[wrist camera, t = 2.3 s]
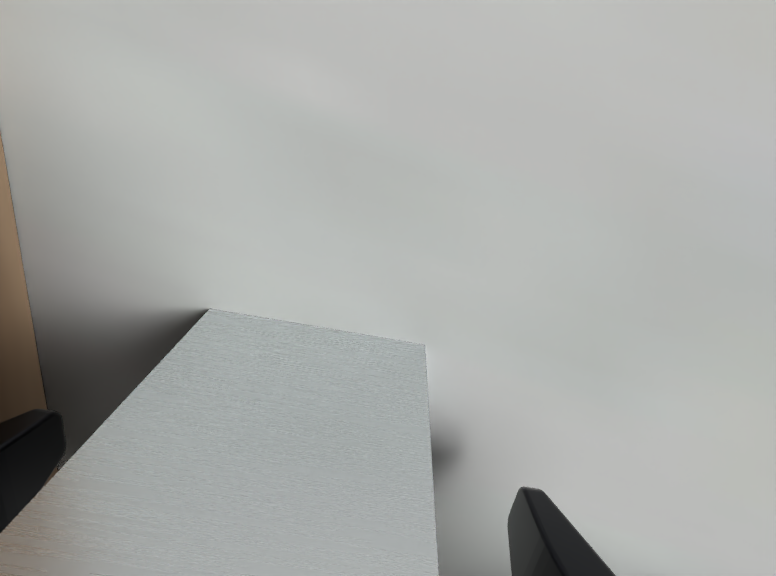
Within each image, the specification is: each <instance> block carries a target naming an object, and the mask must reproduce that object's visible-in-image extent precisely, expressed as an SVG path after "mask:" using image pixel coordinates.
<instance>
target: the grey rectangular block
mask: <svg viewBox="0 0 776 576" xmlns="http://www.w3.org/2000/svg"><path fill="white" fill-rule="evenodd" d="M0 576H439V570H438V554H437V537H436V520H435V503H434V487H433V470H432V453H431V436H430V420H429V403H428V386H427V369H426V353H425V345H423V344H417V343H411V342H405V341H399V340H393V339H388V338H382V337H376V336H370V335H364V334H358V333H352V332H346V331H340V330H334V329H328V328H322V327H316V326H310V325H304V324H299V323H293V322H287V321H281V320H275V319H269V318H263V317H257V316H251V315H245V314H239V313H233V312H227V311H221V310H216V309H209V310H208V311H207V312H206V313H205V314H204V315H203V317H202V318H201V319H200V320H199V321H198V322H197V323H196V324H195V325H194V326H193V327H192V328H191V329H190V330H189V332H188V333H187V334H186V335H185V336H184V337H183V338H182V339H181V340H180V341H179V342H178V343H177V344H176V345H175V347H174V348H173V349H172V350H171V351H170V352H169V353H168V354H167V355H166V356H165V357H164V358H163V359H162V361H161V362H160V363H159V364H158V365H157V366H156V367H155V368H154V369H153V370H152V371H151V372H150V373H149V374H148V376H147V377H146V378H145V379H144V380H143V381H142V382H141V383H140V384H139V385H138V386H137V387H136V388H135V389H134V391H133V392H132V393H131V394H130V395H129V396H128V397H127V398H126V399H125V400H124V401H123V402H122V403H121V404H120V406H119V407H118V408H117V409H116V410H115V411H114V412H113V413H112V414H111V415H110V416H109V417H108V418H107V420H106V421H105V422H104V423H103V424H102V425H101V426H100V427H99V428H98V429H97V430H96V431H95V432H94V433H93V435H92V436H91V437H90V438H89V439H88V440H87V441H86V442H85V443H84V444H83V445H82V446H81V447H80V448H79V450H78V451H77V452H76V453H75V454H74V455H73V456H72V457H71V458H70V459H69V460H68V461H67V462H66V463H65V465H64V466H63V467H62V468H61V469H60V470H59V471H58V472H57V473H56V474H55V475H54V476H53V477H52V479H51V480H50V481H49V482H48V483H47V484H46V485H45V486H44V487H43V488H42V489H41V490H40V491H39V492H38V494H37V495H36V496H35V497H34V498H33V499H32V500H31V501H30V502H29V503H28V504H27V505H26V506H25V507H24V509H23V510H22V511H21V512H20V513H19V514H18V515H17V516H16V517H15V518H14V519H13V520H12V521H11V522H10V524H9V525H8V526H7V527H6V528H5V529H4V530H3V531H2V532H1V533H0Z"/></svg>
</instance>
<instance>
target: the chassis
mask: <svg viewBox="0 0 776 576" xmlns="http://www.w3.org/2000/svg"><path fill="white" fill-rule="evenodd" d="M33 409H45V410H47V406H46V400H45V394H44V388H43V382H42V376H41V370H40V364H39V358H38V352H37V346H36V341H35V335H34V329H33V323H32V317H31V311H30V305H29V299H28V293H27V287H26V281H25V275H24V269H23V264H22V258H21V252H20V246H19V240H18V234H17V228H16V222H15V216H14V210H13V204H12V198H11V192H10V187H9V181H8V175H7V169H6V163H5V157H4V151H3V145H2V139H1V133H0V423H1V422H3V421H6V420H8V419H11V418H13V417H16V416H18V415H21V414H23V413H25V412H28V411H30V410H33ZM57 472H58V471H57V466H56V468H55V469H54V471H53V472H52V474H51V475H50V477H49V478H48V480H47V481H46V483H45V484H44V486H45V485H46V484H47V483H48V482H49V481H50V480H51V479H52V477H53V476H54V475H55V474H56V473H57ZM44 486H43V487H44ZM43 487H42V488H43Z"/></svg>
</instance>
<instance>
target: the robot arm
mask: <svg viewBox="0 0 776 576" xmlns="http://www.w3.org/2000/svg"><path fill="white" fill-rule="evenodd" d="M65 449H66V440H65V433H64V427H63V420H62V416H61V415H60V413H59V412H57V411H52V410H45V409H33V410H30V411H28V412H25V413H23V414H21V415H18V416H16V417H13V418H11V419H8V420H6V421H3V422H1V423H0V533H1V532H2V531H3V530H4V529H5V528H6V527H7V526H8V525H9V524H10V522H11V521H12V520H13V519H14V518H15V517H16V516H17V515H18V514H19V513H20V512H21V511H22V510H23V509H24V507H25V506H26V505H27V504H28V503H29V502H30V501H31V500H32V499H33V498H34V497H35V496H36V495H37V494H38V492H39V491H40V490H41V489H42V487H43V486H44V484H45V483H46V481H47V480H48V478H49V477H50V475H51V474H52V472H53V471H54V469H55V468H56V466H57V464H58V463H59V461H60V460H61V458H62V457H63V454H64V452H65ZM508 537H509V549H510V560H511V571H512V576H616V575H615V574H614V573H613V572H612V571H611V570H610V568H609V567H608V566H607V565H606V564H605V563H604V561H603V560H602V559H601V558H600V557H599V556H598V554H597V553H596V552H595V551H594V550H593V549H592V547H591V546H590V545H589V544H588V543H587V542H586V540H585V539H584V538H583V537H582V536H581V535H580V533H579V532H578V531H577V530H576V529H575V527H574V526H573V525H572V524H571V523H570V522H569V520H568V519H567V518H566V517H565V516H564V515H563V513H562V512H561V511H560V510H559V509H558V508H557V506H556V505H555V504H554V503H553V502H552V501H551V499H550V498H549V497H548V496H547V495H546V494H545V493H544V492H543V491H542V490H540V489H536V488H530V487H521V488H520V489H519V490H518V492H517V495H516V498H515V500H514V503H513V506H512V508H511V511H510V514H509V517H508Z"/></svg>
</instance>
